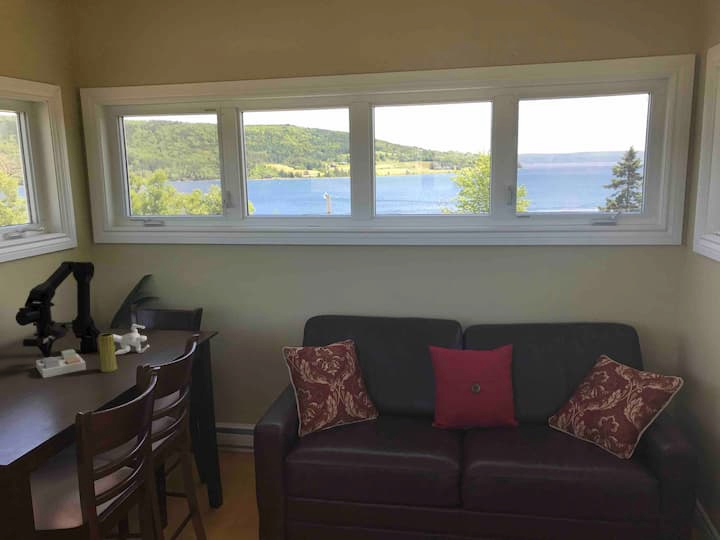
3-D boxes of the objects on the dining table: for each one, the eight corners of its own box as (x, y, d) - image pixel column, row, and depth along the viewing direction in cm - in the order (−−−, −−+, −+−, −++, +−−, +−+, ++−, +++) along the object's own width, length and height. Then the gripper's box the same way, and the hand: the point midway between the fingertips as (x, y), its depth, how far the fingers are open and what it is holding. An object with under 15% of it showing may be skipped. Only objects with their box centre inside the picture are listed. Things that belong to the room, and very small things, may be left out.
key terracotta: (78, 363, 227) (77, 357, 226) (80, 366, 223) (79, 359, 223) (66, 366, 224) (65, 359, 224) (68, 369, 221) (67, 362, 220)
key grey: (56, 363, 222) (56, 357, 221) (59, 366, 218) (58, 359, 218) (44, 366, 219) (43, 359, 219) (46, 369, 216) (45, 362, 215)
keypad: (77, 360, 235) (76, 353, 234) (86, 369, 223) (85, 362, 223) (36, 367, 226) (35, 360, 225) (43, 377, 214) (42, 370, 214)
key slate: (53, 363, 228) (53, 356, 227) (55, 366, 224) (55, 359, 224) (41, 365, 225) (40, 358, 225) (43, 368, 222) (42, 361, 221)
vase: (99, 373, 219) (96, 337, 216) (102, 368, 224) (98, 333, 222) (116, 371, 220) (113, 336, 218) (118, 366, 226) (115, 332, 224)
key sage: (73, 355, 232) (72, 349, 232) (75, 358, 229) (75, 351, 228) (61, 357, 230) (61, 351, 229) (64, 360, 226) (63, 353, 226)
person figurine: (98, 333, 235) (143, 321, 242) (100, 332, 247) (143, 321, 254) (107, 363, 236) (151, 350, 242) (109, 361, 247) (151, 348, 254)
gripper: (46, 325, 212) (50, 365, 214) (77, 314, 230) (80, 350, 232) (19, 325, 213) (24, 364, 215) (51, 313, 231) (55, 350, 234)
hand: (47, 357), depth 224 cm, fingers closed
